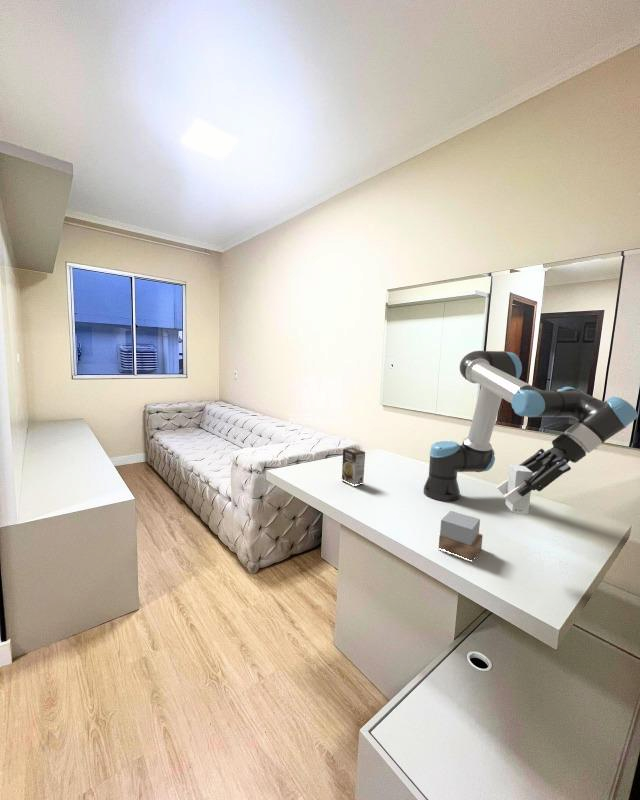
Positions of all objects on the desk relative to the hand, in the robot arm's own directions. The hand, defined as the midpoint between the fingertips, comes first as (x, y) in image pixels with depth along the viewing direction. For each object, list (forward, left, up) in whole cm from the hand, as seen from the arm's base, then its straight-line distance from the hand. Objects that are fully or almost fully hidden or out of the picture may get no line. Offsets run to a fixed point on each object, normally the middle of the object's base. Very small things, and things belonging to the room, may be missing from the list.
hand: (503, 495), depth 97 cm
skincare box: (+3, +2, -4) cm, 5 cm away
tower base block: (-11, +1, -21) cm, 24 cm away
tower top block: (-11, +1, -16) cm, 20 cm away
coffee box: (-68, +28, -21) cm, 76 cm away
